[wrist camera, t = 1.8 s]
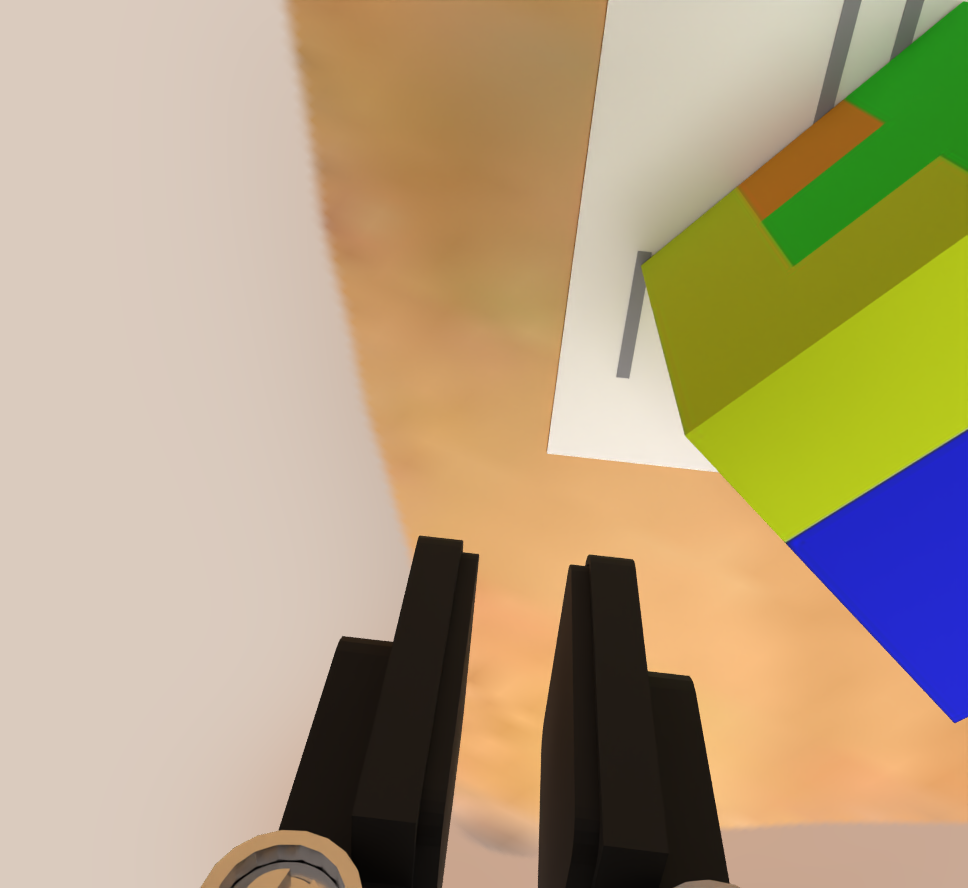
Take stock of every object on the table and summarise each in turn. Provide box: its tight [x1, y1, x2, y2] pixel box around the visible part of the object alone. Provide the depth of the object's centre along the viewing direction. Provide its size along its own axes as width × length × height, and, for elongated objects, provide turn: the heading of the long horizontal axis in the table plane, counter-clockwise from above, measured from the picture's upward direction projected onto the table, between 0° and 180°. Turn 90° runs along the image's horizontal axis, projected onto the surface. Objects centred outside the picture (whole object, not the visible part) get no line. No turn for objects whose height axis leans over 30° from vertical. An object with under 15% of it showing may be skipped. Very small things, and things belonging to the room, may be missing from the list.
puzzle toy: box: [641, 1, 968, 723], centre depth 21 cm, size 10×10×10 cm
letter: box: [547, 0, 968, 472], centre depth 24 cm, size 20×13×1 cm, turn 175°
